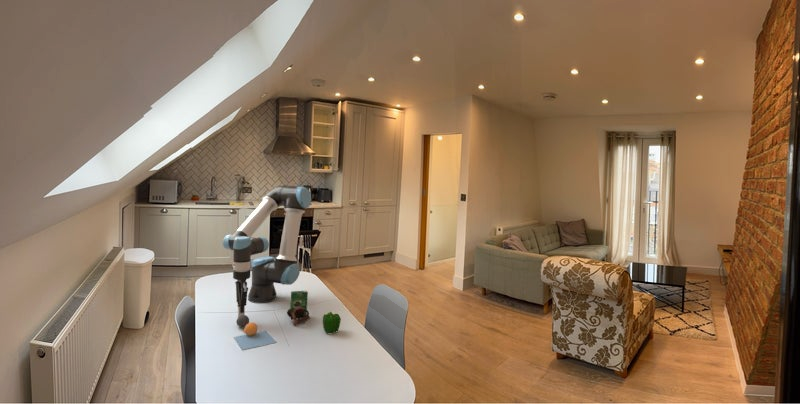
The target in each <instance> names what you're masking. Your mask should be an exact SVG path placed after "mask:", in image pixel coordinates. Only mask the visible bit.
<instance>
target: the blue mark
mask: <svg viewBox="0 0 800 404" xmlns="http://www.w3.org/2000/svg"><path fill="white" fill-rule="evenodd" d="M233 339H234V340H235V342H236V343H237V345H238V346H239V348H240V349H241V351H245V350H250V349H254V348H258V347H259V348H260V347H263V346H267V345H272V344H276V343H277V341H276V340H275V339H274V338H273V336H272V335H271V334H270V332H268V331H267V330H261V331H257V332H256V334H254V335H252V336H249V335H247V334H246V333H245V334H241V335H236V336H233Z"/></svg>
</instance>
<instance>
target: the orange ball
mask: <svg viewBox="0 0 800 404" xmlns="http://www.w3.org/2000/svg"><path fill="white" fill-rule="evenodd" d="M256 332H258V324H257V323H255V322H249V323H248V324H247V325H246V326H245V327H244V334H245V335H246V334H247V335H249V336H252V335H254V334H256Z"/></svg>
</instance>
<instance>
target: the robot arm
mask: <svg viewBox="0 0 800 404" xmlns="http://www.w3.org/2000/svg"><path fill="white" fill-rule="evenodd" d="M311 205H312V194H311V192H310V190H309V188H307V187H305V186H299V185H297V186H296V185H286V184H285V185H283V184H282V185H278V186H276V187H275V188H272V189H271V190H270V191H268V192H267V193H266V194H265V195H264V196H263V197H262V199H261V202H260V204H259V205H258V206H256V208H255V209H254V210H253V212H251V214H249V216H248V217H247V218H246V219H245V221H243V223H242V224H240V226H239V227H238V228H237V230H236V231H235V232H234V233H233V234H227V235H225V236H224V238H223V240H222V246H223V248H225V249H226V250H230V251H232V252H233V263H232V264H231V266H232V267H233V271H232V272H233V273H232V275H233V276H232V279H233V280H236V281H235V292H236V294H235V295H236V303H237V318H238V317H239V316H241V315H246V314H245V313H246V312H245V308H246V307H245V306H247V303H248V302H247V300H248V301H249V302H252V303H257V304H259V303H260V304H261V303H270V302H273V301H275V300H277V298H278V296H277V295H278V294H277V290H276V287H275V285H274V284H280V285H289V286H291V285H292V284H294V283H295V282H296V281H297V280H298V278H299V277H300V272H301V269H300V265H299V264H297V263H298V260H297V258H296V254H297V253H296V251H297V246H298V240H299V239H298V238H299V234H300V226H301V222H302V221H301V220H302V216H303V214H305V212H306V210H307V209H308V208H309V207H310V206H311ZM279 207H283V210H284V211H285V217H284V223H283V228H282V234H281V241H280V247H279V253H278V255H277V256H276V257H274V256H263V257H258V258H254V259H253V260H251V256H254V255H258V254H262V253H264V252H266V251H268V249H269V248H270V243H269V240H268V239H267V238H266V237H264V236H260V237H253V235H254V234H255V233H256V232H257V231H258V229H259V228H260V226H262V225H263V223H264V222H265V221H266V220H267V219H268V217H269V216H270V215H271V213H273V211H276V210H277V209H278V208H279ZM251 261H252V262H251ZM250 278H251V286H250V289H249V287H248V282H247V280H249V279H250ZM248 290H249V292H248Z"/></svg>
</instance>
